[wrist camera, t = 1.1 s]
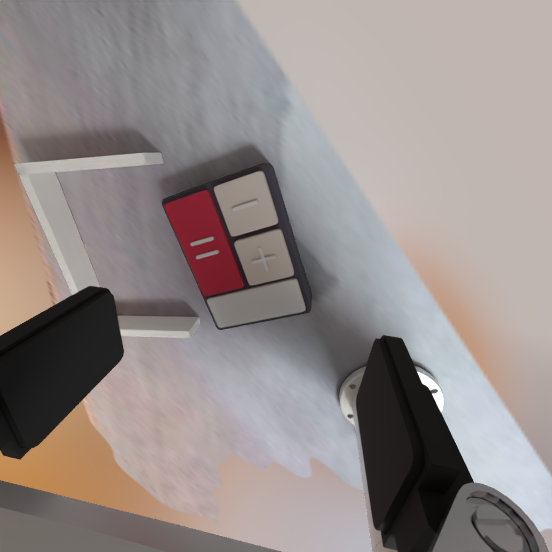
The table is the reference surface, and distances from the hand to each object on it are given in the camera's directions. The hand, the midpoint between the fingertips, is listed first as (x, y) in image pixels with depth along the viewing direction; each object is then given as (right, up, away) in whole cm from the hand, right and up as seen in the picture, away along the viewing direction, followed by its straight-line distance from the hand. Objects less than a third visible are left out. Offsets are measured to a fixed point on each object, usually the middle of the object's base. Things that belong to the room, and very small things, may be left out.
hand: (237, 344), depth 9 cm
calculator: (-2, +6, +20) cm, 21 cm away
